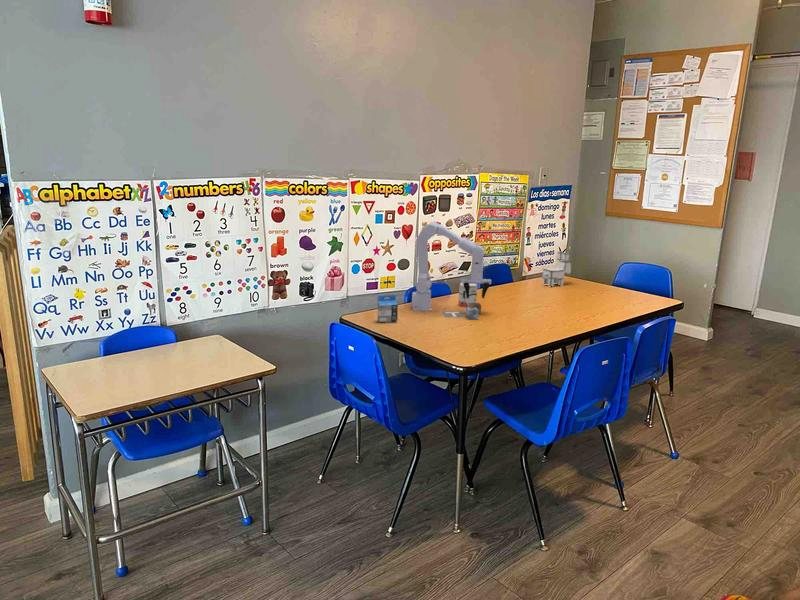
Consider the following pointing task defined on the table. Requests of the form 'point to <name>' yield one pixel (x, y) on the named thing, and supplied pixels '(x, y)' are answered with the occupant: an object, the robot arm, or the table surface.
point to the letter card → (453, 314)
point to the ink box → (463, 298)
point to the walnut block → (476, 307)
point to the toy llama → (557, 270)
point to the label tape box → (387, 308)
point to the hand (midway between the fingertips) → (475, 297)
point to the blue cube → (471, 313)
